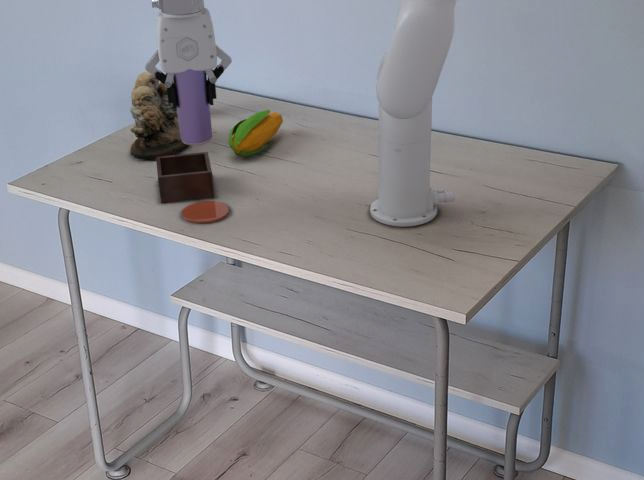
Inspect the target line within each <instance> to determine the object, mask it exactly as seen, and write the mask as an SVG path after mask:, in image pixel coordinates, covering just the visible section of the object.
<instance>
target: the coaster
mask: <svg viewBox="0 0 644 480" xmlns="http://www.w3.org/2000/svg"><path fill="white" fill-rule="evenodd" d="M229 212H230V211H229V207H228V205H227V204H226V203H223V202H220V201H217V200H203V201H196V202H194V203H190V204H188V205H187V206H185V207H184V208H183V209H182V211H181V216H182V218H183V220H185V221H187V222H188V223H193V224H210V223H211V224H213V223H215V222H219V221H221V220H223V219H225V218H226V217H227V216H228V215H229Z"/></svg>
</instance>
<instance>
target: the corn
mask: <svg viewBox="0 0 644 480" xmlns="http://www.w3.org/2000/svg"><path fill="white" fill-rule="evenodd" d="M283 122H284V120H283V116H282V114H281V113H278V112H275V111H273V112H271V110H270V109H266V110H262V111H258V112H256V113H254V114H252V115H250V116H248V117H247V118H244V119H243V120H240V121H239V122H238V123H236V124H235V125H234V126H233V127H232V128H231V129H230V132H229V134H228V139H227V143H228V145H229V147H230V150H231V151H233V153H234V154H235V155H236V156H241V157H244V158H245V157H251V156H253V155H255V154H257V153H260V152H262V151H263V150H264V149H266V148H268V146H269V145H271V144H272V143H273V142H274V139H273V137H274V136H275V135H276V134H277V133H278V131H279V130H280V128H281V126H282V124H283Z"/></svg>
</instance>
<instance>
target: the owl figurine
mask: <svg viewBox="0 0 644 480" xmlns="http://www.w3.org/2000/svg"><path fill="white" fill-rule="evenodd" d="M173 83H174V80H173ZM130 97H131V107H130V109H129V112H130V113H131V117H132V118H133V119H134V126H133V127H131V128H130V132H131V133H133V134H134V135H135V137H136V138H137V139H135V141H134V142H133V143H132V144H131V145H130V148H129V149H130V154H131V156H133V157H134V158H142V159H145V160H151V161H156V157H159V156H170V155H175V154H180V153H181V152H184V151H185V150H186V149H188V148H189V147H190V145H187V144H184V143H183V142H182V140H181V139H180V131H179V122H178V114H177V108H176V109H173V103H169V102H168V94H167V87H166V86H165V85H164V84H163V83H161V82H160V81H159V80H158V79H156V77H155V76H153V75H152V74H150V73H149V72H148V71H147V70H146V71H144V72H140V73H139V74H138V75H137V77H136V81H135V83H134V87H133V88H132V92H131V96H130ZM174 153H175V154H174Z"/></svg>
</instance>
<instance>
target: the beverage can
mask: <svg viewBox="0 0 644 480" xmlns="http://www.w3.org/2000/svg"><path fill="white" fill-rule="evenodd" d="M173 80H174V86H175V95H176V103H177V114H178V122H179V131H180V139H181V140H182V142H183V143H184V144H187V145H189V146H202V145H205V144H208V143H209V142H211V140H212V138H213V127H212V118H211V107H210V106H211V105H210V104H209V96H208V86H207V80H208V76H207V74H206V72H205V71H194V70H192V69H188V70H186V71H185V72H181V73H175V74H174V78H173Z"/></svg>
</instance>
